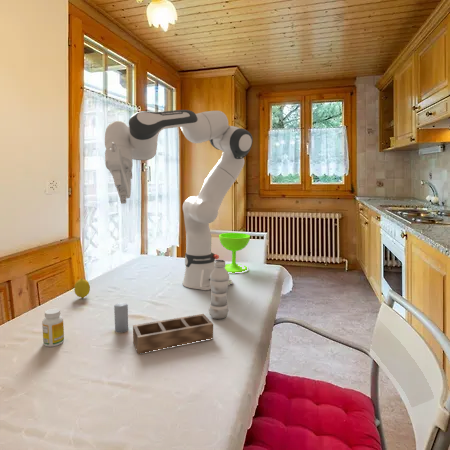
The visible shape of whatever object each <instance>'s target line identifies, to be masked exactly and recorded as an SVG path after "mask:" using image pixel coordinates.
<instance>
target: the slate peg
mask: <svg viewBox="0 0 450 450" xmlns="http://www.w3.org/2000/svg"><path fill="white" fill-rule="evenodd" d="M113 309H114V332H116V333H118V334H119V333H120V334H122V333H126V332H127V331H128V330H129V304H128V303H127V302H126V303H125V302H119V303H116V304H114V307H113Z"/></svg>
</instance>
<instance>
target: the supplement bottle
mask: <svg viewBox="0 0 450 450" xmlns="http://www.w3.org/2000/svg"><path fill="white" fill-rule="evenodd" d="M41 325H42V340H43V341H42V342H43V345H44V346H45V347H49V348H50V347H51V348H52V347H56V346H59V345H61V344H63V342H64V341H65V332H64V330H65V329H64V318H63V316H62V315H61V309H60V308H58V307H55V308H49V309H46V310H45V311H44V318H43V319H42V323H41Z"/></svg>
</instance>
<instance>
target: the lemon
mask: <svg viewBox="0 0 450 450" xmlns="http://www.w3.org/2000/svg"><path fill="white" fill-rule="evenodd" d="M73 290H74V293H75V295H76V296H77V297H78V298H81V299H84V298H85V297H87V296H88V295H89V293H90V291H91V286H90V283H89V281H88V280H86V279H84V278H83V277H82V278H80V279H78V280H77V281H76V282H75V284H74V289H73Z"/></svg>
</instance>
